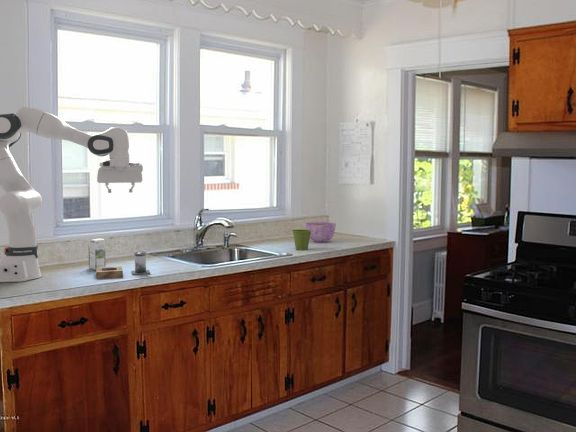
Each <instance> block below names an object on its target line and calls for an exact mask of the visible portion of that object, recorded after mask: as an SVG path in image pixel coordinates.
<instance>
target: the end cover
mask: <svg viewBox="0 0 576 432" xmlns="http://www.w3.org/2000/svg"><path fill="white" fill-rule="evenodd" d="M133 255H134V271H135V272H136V273H144V272H146V270H147V252H146V251H135V252H133Z"/></svg>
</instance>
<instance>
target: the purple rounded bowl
mask: <svg viewBox="0 0 576 432" xmlns="http://www.w3.org/2000/svg"><path fill="white" fill-rule="evenodd" d="M336 227H337V223H335V222H330V221H329V222H328V221H326V222H325V221H323V222H322V221H321V222H320V221H316V222H315V221H313V222H306V223H305V230H312V232H311V235H310V239H309V240H312V241H313V242H315V243H327V242H328V241H330V240H331V239H333V237H334V234H335V232H336V231H335V230H336Z"/></svg>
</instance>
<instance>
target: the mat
mask: <svg viewBox="0 0 576 432" xmlns="http://www.w3.org/2000/svg"><path fill="white" fill-rule="evenodd" d="M131 275H132V276H140V275H141V276H142V275H151V271H150V270H149V269H146V272H144V273H136V272H135V270H131Z"/></svg>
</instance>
